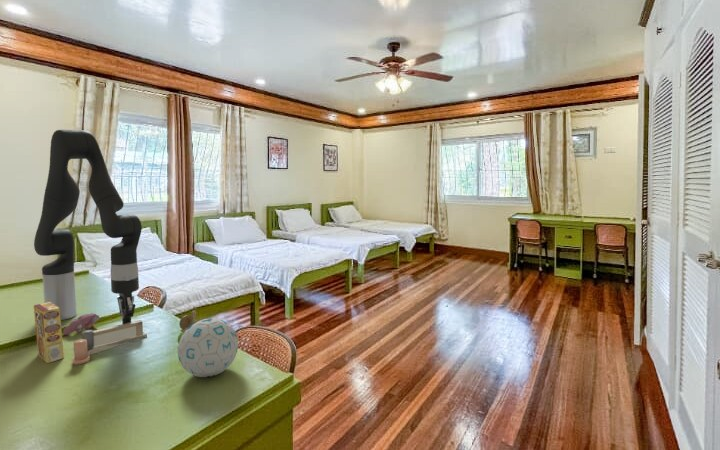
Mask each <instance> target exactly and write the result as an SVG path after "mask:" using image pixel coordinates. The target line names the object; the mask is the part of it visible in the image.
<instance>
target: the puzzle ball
mask: <svg viewBox="0 0 720 450" xmlns="http://www.w3.org/2000/svg"><path fill="white" fill-rule="evenodd" d="M238 348H239V337H238V336H237V333H236V331H235V329H234V328H233V327H232V326H231V325H230V324H229V323H227V322H226V321H224V320H223V319H218V318H214V317H212V318H203V319H200V320H198V321H195V322H194V325H193V324H192V325H191V326H190V327H189V328H187V330H186V331H185V332H184V334H183V335H182V337H181V339H180V342H179V344H178V346H177V355H178V360H179V362H180V365H181V367H182V368H183V369H184V370H185V371H186V372H188V373H189V374H191V375H193V376H195V377H198V378H208V377H207V376H210V377H213V376H212V375H215V376H218V375H219V374H221V373H224V372H225V370H226V369H228V368H229V367H230V366H231V365H232V364H233V362H234V360H235V358H236V357H237V356H236V355H237V353H238Z"/></svg>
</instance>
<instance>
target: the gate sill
mask: <svg viewBox="0 0 720 450" xmlns="http://www.w3.org/2000/svg"><path fill="white" fill-rule="evenodd" d="M147 337H148V333H146V332H144V331H143V335H140V336H135V337H131V338H127V339H123V340H119V341H115V342H111V343H107V344H103V345H99V346H96V347H94V348H92V349H90V350H87V352H88V355H89V356H91V355H93V354H96V353H100V352H103V351H106V350H110V349H113V348H116V347H118V346H122V345H124V344H128V343H131V342H135V341H138V340H142V339H144V338H147Z"/></svg>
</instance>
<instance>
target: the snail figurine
mask: <svg viewBox="0 0 720 450" xmlns="http://www.w3.org/2000/svg"><path fill="white" fill-rule="evenodd" d="M192 309H194V310H192V311H191V315H189V314H186V315H183V316H182V317H181V319H180V321H179V327H180V332H181V333H179V335H178V337H177V343H178V345H179V342H180V339H181V337H182V335H183V334H184V332H185V331H186V330H187V328H189V327H190V326H191V325H192V324H193V325H194V323H196V314H197V311H196V310H197V307H196V306H193V307H192Z"/></svg>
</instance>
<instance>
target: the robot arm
mask: <svg viewBox="0 0 720 450" xmlns="http://www.w3.org/2000/svg"><path fill="white" fill-rule="evenodd" d="M49 149H50V150H49V151H50V152H49V169H48V176H47V181H46V185H45V190H44V194H43V203H42V210H41V215H40V219H39V223H38V225H37V226H38V227H37V230H36V232H35V237H34V240H33V246H34V247H33V249H34V251H35V253H36V254H37V255H38V256H41V257H42V256H43V257H45V256H46V257H47V256H57V255H59V256H58V258H56V259H55V260H53V261H51V262H49V263H46V264H44V265H43V266H42V267H41V273H42V274H41V275H42V276H41V277H42V287H43V288H42V289H43V301H44V303H48V302H51V303H53V304H54V305H56V306H57V307H59V308H60V317H61V321H63V320H68V319H72V318H74V317H76V316H77V315H78V314H77V313H78V312H77V299H76V298H77V295H76V281H75V238H74V235H73V233H72V231H71V230H70V229H68V228H67V229H65V228H63V229H56V228H57V226H58V225H60V223H61V222H63V221H64V220H65V219H66V218H68V217H69V216H70V215H71V214H72V213H73V212H74V211H75V210H76V209H77V206H78V202H79V199H80V193H81V190H80V187H79V185H78V184H77V182H76V181H75V179H74V178H73V176H72V175H71V174H70V172H69V169H68V166H69V161H70V160H87V162H88V163H89V164H90V167H91V171H90V175H89V176H90V177H89V180H88V191H89V194H90V196H91V199H92V201H93V202H94V204H95V206H96V207H97V209H98V212H99V213H98V214H99V218H100V224H101V229H102V231H103V233H104V234H105V235H106V236H107V237H109V238H111V239H119V238H121V241H120V242H119V243H117V244H114V245H113V246H111V248H110V285H111V286H110V287H111V289H110V291H111V292H112V293H113V294H116V295H119V296H117V298H116V299H117V305H118V309H119V314H120V316H121V318H122V320H121V322H122V324H126V323H130V322H132V318H133V317H134V314H135V310H136V304H135V303H134V302H135V296H134V295H133V293H134V292H137V291H138V290H139V289H140V285H139V283H140V281H139V266H138V253H137V249H138V246H139V241H140V238H141V234H142V230H143V229H142V228H143V227H142V226H143V225H142V222H141V220H140V218H139V217H138V216H137V215H135V214H130V213H129V214H119V215H118V214H117V212H119V211H121V210H122V209H123V207H124V206H125V205H124V201H123V199H122V197H121V195H120V194H119V192H118V190H117V189H116V186H115V184H114V183H113V181H112V178H111V176H110V173H109V170H108V168H107V164H106V162H105V160H104V156H103V153H102V151H101V148H100V146H99V143H98V141H97V139H96V137H95V136H94V134H93V133H92V132H90V131H89V130H82V129H81V130H80V129H56V130H55V131H54V132H53V133H52V135H51V140H50V148H49Z"/></svg>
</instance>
